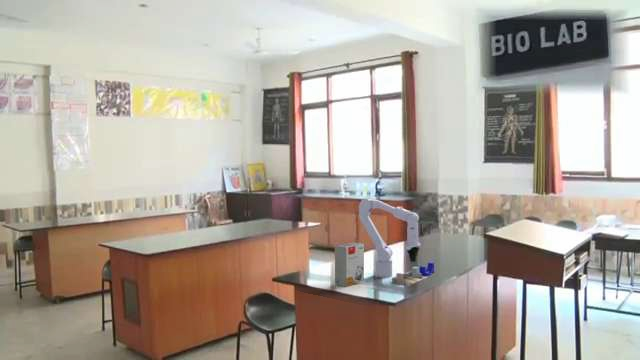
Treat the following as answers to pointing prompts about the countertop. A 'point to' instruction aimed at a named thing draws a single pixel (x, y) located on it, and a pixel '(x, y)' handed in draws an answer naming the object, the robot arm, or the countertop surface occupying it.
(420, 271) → the cable clip
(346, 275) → the hard drive box
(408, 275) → the board
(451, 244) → the countertop surface
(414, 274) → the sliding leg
